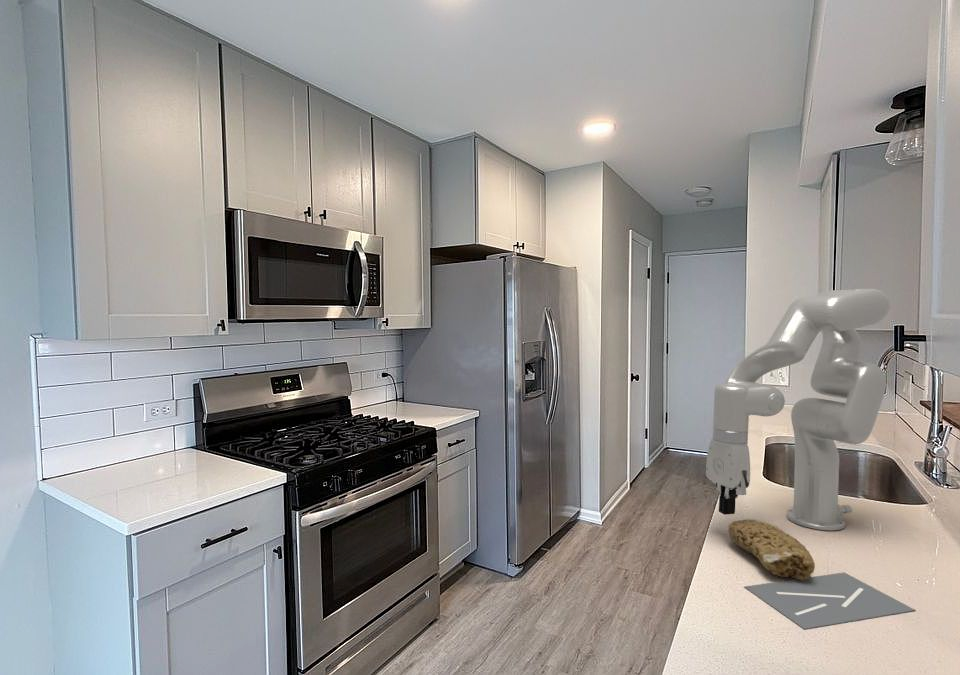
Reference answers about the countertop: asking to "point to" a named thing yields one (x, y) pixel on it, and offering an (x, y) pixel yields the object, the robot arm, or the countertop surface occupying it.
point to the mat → (827, 600)
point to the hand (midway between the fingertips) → (726, 512)
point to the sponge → (773, 548)
